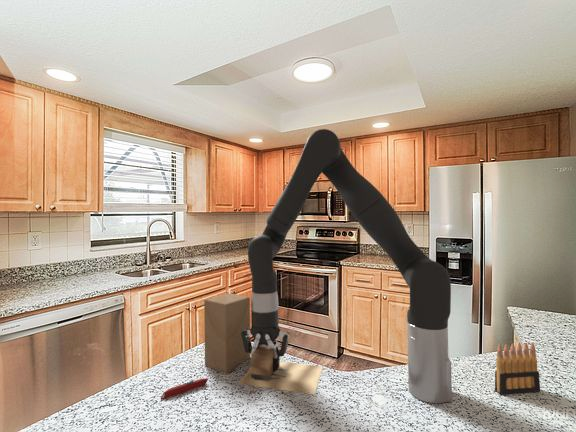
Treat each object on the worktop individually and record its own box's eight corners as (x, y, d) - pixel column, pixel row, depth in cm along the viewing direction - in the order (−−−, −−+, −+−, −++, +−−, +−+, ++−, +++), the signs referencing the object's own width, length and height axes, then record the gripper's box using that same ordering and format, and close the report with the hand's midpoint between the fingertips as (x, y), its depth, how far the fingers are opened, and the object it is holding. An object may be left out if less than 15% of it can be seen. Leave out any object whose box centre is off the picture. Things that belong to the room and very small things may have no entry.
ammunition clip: (500, 394, 73) (499, 345, 73) (494, 390, 75) (493, 342, 75) (540, 392, 74) (539, 343, 74) (533, 388, 76) (532, 340, 76)
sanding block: (279, 363, 86) (278, 342, 86) (269, 380, 77) (268, 356, 77) (262, 361, 87) (262, 341, 87) (251, 377, 79) (250, 354, 79)
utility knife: (207, 383, 80) (207, 376, 80) (208, 385, 79) (208, 377, 79) (160, 398, 74) (160, 390, 74) (161, 400, 73) (161, 392, 73)
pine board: (323, 371, 85) (323, 366, 85) (314, 400, 72) (314, 394, 72) (257, 363, 90) (257, 358, 90) (238, 389, 77) (238, 383, 77)
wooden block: (226, 375, 84) (225, 304, 84) (204, 365, 90) (203, 299, 90) (251, 361, 92) (250, 296, 92) (229, 353, 98) (228, 292, 98)
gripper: (293, 305, 84) (294, 365, 84) (246, 302, 88) (247, 359, 88) (286, 313, 77) (287, 379, 77) (235, 309, 81) (236, 372, 81)
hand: (265, 368), depth 82 cm, fingers closed on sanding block, 5 cm apart
